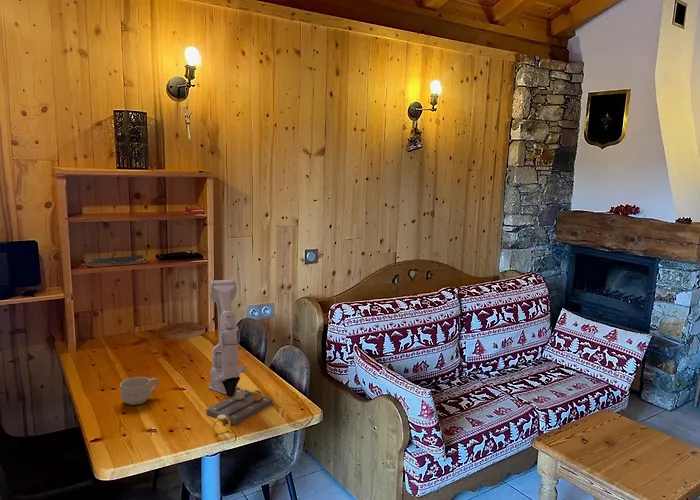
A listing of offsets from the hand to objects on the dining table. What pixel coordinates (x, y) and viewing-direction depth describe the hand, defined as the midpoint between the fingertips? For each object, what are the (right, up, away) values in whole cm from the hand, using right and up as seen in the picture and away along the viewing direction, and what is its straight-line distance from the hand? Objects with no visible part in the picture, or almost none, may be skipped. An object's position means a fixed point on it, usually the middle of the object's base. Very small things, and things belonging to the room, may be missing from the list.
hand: (230, 396), depth 192 cm
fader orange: (+9, -2, +4) cm, 10 cm away
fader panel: (+4, -5, +1) cm, 6 cm away
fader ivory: (+3, -2, +4) cm, 6 cm away
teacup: (-35, -3, +5) cm, 36 cm away
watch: (+1, -8, -16) cm, 18 cm away
